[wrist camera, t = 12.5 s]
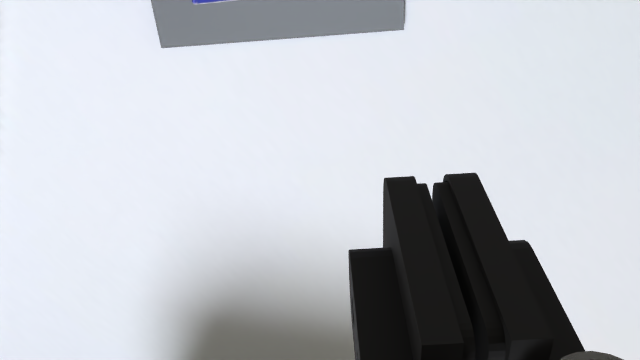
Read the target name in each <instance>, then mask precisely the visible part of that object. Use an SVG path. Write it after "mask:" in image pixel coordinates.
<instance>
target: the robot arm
mask: <svg viewBox="0 0 640 360" xmlns="http://www.w3.org/2000/svg"><path fill="white" fill-rule="evenodd" d="M349 280H350V300H351V315H352V328H353V339H354V350H355V360H623V359H621V358H618V357H616V356H613V355H611V354H606V353H601V352H595V351H585V350H584V348H583V346H582V344H581V342H580V340H579V338H578V336H577V334H576V332H575V330H574V328H573V327H572V325H571V323H570V321H569V319H568V317H567V315H566V313H565V311H564V309H563V307H562V305H561V303H560V301H559V299H558V297H557V295H556V294H555V292H554V290H553V288H552V286H551V284H550V282H549V280H548V278H547V276H546V274H545V272H544V270H543V268H542V266H541V264H540V262H539V261H538V259H537V257H536V255H535V253H534V251H533V249H532V247H531V246H530V244H529V243H528V242H527V241H525V240H517V241H508V239H507V237H506V234H505V232H504V230H503V228H502V226H501V224H500V222H499V220H498V217H497V215H496V213H495V211H494V209H493V207H492V205H491V203H490V200H489V198H488V196H487V194H486V192H485V190H484V188H483V185H482V183H481V181H480V179H479V177H478V175H477V174H476V173H463V174H446V175H445V176H444V179H443V182H441V183H434V185H433V195H432V199H431V196H430V193H429V190H428V187H427V184H426V183H423V184H417V183H416V180H415V177H414V176H410V177H392V178H384V187H383V248H372V249H354V250H349Z"/></svg>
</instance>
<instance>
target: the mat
mask: <svg viewBox="0 0 640 360" xmlns="http://www.w3.org/2000/svg"><path fill="white" fill-rule="evenodd" d="M151 3H152V8H153V12H154V17H155V21H156V26H157V30H158V35H159V39H160V44H161V48H170V47H184V46H197V45H210V44H223V43H236V42H250V41H263V40H276V39H289V38H302V37H316V36H329V35H342V34H355V33H368V32H381V31H395V30H404V0H233V1H224V2H215V3H205V4H193V3H192V1H191V0H151Z"/></svg>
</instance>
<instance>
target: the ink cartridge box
mask: <svg viewBox="0 0 640 360" xmlns="http://www.w3.org/2000/svg"><path fill="white" fill-rule="evenodd" d="M191 1H192V3H193V4H205V3H215V2H224V1H233V0H191Z"/></svg>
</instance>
